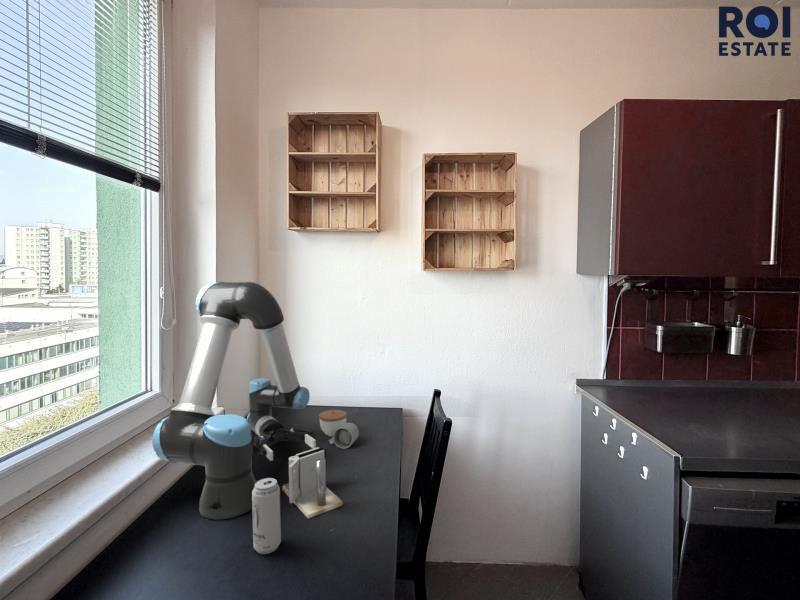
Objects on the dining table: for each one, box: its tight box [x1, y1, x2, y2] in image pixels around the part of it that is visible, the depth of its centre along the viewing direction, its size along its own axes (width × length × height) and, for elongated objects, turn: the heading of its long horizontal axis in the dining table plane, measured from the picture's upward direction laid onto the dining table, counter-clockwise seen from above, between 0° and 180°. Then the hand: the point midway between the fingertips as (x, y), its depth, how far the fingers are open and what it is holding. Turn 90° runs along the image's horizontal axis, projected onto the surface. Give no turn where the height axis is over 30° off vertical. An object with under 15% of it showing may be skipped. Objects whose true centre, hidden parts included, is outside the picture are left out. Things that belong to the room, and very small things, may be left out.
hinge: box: [288, 446, 327, 504], centre depth 115 cm, size 14×5×10 cm, turn 145°
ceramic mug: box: [328, 422, 360, 449], centre depth 150 cm, size 11×8×8 cm
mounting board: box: [281, 485, 344, 519], centre depth 114 cm, size 10×18×1 cm, turn 37°
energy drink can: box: [251, 477, 282, 555], centre depth 92 cm, size 6×6×15 cm
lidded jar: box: [318, 409, 348, 437], centre depth 161 cm, size 11×11×9 cm
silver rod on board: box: [283, 458, 333, 506], centre depth 114 cm, size 9×17×12 cm, turn 37°
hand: (293, 450), depth 123 cm, fingers open, 13 cm apart
